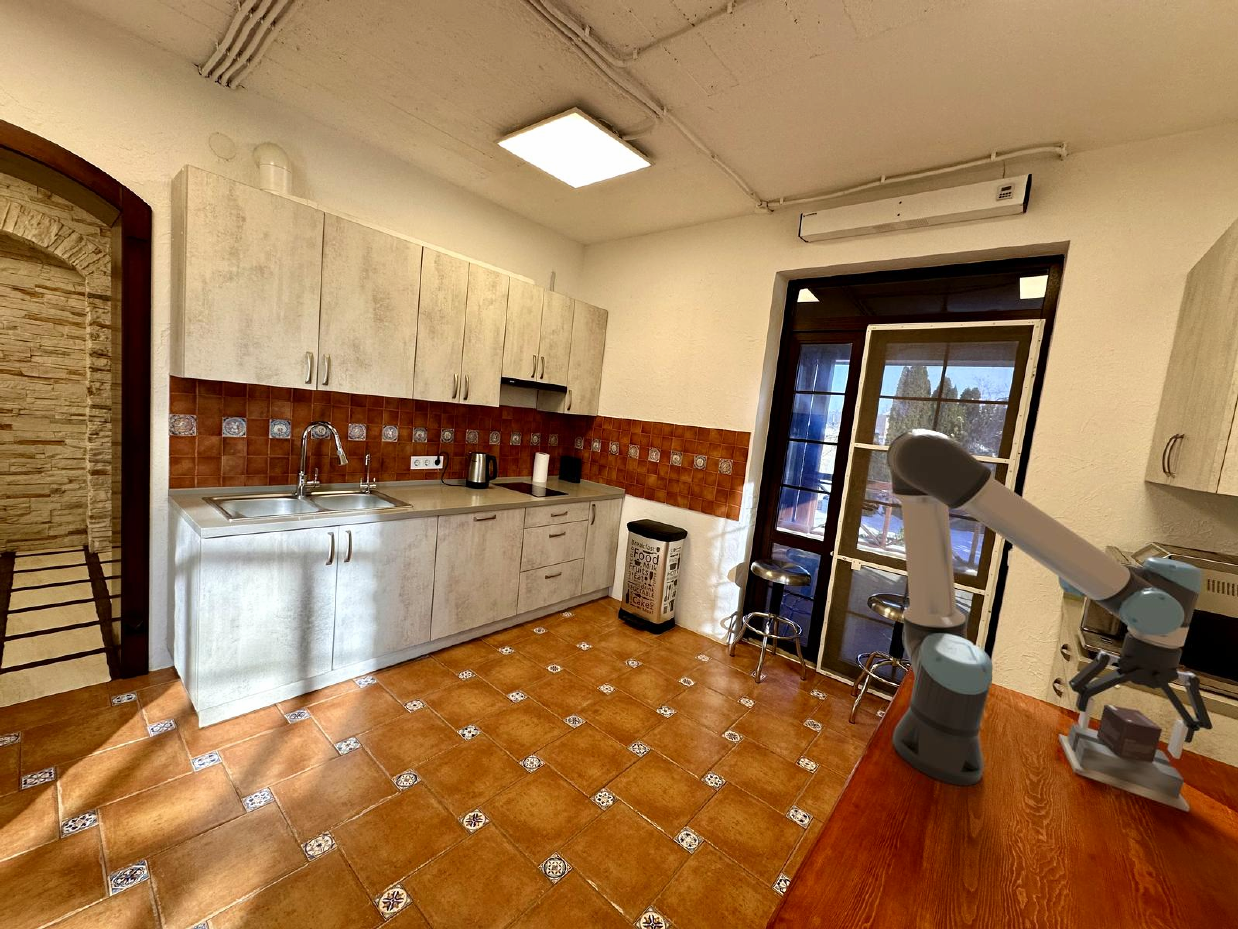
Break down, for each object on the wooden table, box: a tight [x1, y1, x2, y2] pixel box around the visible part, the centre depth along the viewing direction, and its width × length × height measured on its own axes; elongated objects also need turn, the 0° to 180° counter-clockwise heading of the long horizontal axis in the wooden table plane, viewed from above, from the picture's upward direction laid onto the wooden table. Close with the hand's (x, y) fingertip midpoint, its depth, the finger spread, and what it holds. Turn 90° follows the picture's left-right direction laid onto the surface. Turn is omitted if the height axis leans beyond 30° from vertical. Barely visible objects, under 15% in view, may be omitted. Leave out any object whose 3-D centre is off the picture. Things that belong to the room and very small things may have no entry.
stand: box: [1058, 722, 1190, 813], centre depth 100 cm, size 16×12×5 cm
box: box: [1097, 704, 1163, 762], centre depth 99 cm, size 6×6×7 cm
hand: (1126, 740), depth 99 cm, fingers open, 13 cm apart
